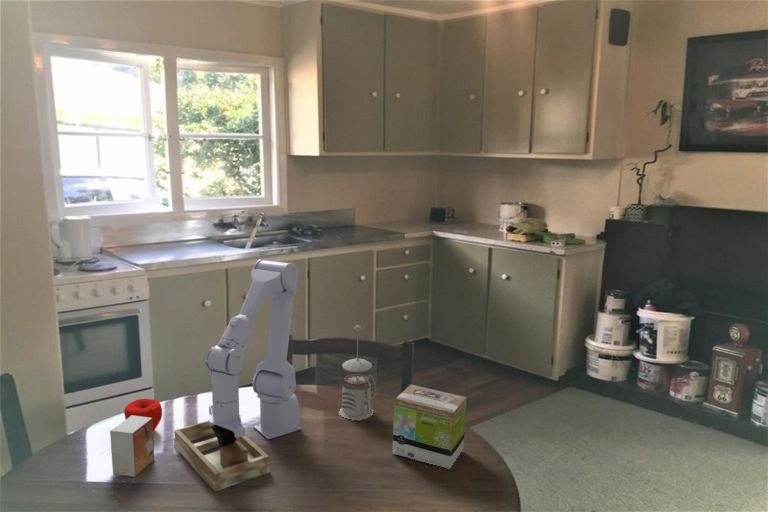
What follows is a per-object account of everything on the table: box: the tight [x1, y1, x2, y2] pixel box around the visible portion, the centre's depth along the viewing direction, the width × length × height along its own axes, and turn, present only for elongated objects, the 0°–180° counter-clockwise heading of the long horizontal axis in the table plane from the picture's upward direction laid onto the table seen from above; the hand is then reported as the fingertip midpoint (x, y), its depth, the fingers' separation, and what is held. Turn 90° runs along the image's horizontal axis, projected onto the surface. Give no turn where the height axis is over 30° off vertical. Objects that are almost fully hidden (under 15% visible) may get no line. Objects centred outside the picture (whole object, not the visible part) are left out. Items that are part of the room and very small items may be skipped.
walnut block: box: [220, 441, 248, 468], centre depth 135 cm, size 4×4×4 cm
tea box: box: [392, 384, 468, 469], centre depth 145 cm, size 15×10×15 cm
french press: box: [338, 324, 377, 421], centre depth 164 cm, size 10×12×25 cm
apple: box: [123, 398, 163, 432], centre depth 152 cm, size 9×9×8 cm
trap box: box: [173, 420, 271, 493], centre depth 141 cm, size 13×24×4 cm, turn 39°
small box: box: [109, 415, 155, 478], centre depth 136 cm, size 8×6×10 cm
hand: (227, 454), depth 138 cm, fingers closed
